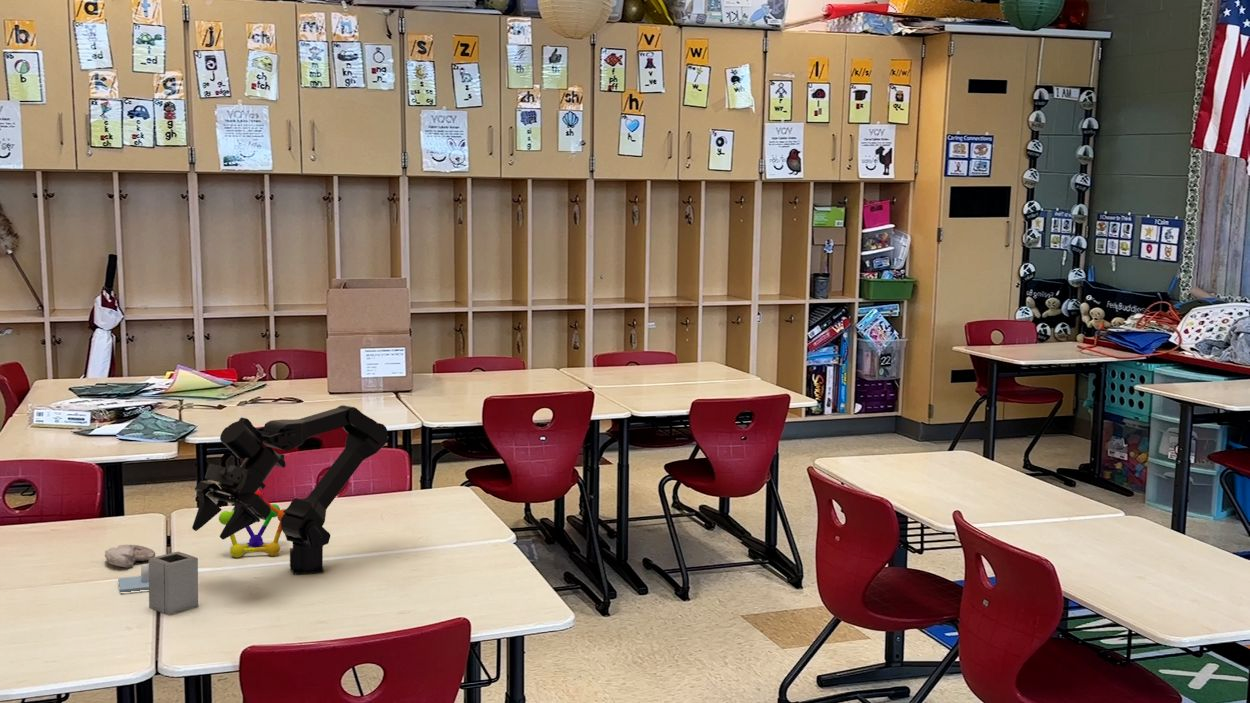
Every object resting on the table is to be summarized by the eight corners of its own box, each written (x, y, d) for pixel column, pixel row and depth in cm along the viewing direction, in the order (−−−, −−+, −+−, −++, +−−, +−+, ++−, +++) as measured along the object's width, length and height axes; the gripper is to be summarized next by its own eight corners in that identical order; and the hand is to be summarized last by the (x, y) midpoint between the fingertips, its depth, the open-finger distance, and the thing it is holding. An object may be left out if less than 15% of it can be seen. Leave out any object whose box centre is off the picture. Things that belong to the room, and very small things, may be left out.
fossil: (123, 536, 265) (164, 542, 264) (122, 554, 265) (162, 561, 264) (91, 547, 253) (133, 554, 252) (89, 566, 253) (131, 573, 252)
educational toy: (277, 545, 279) (284, 483, 278) (288, 560, 268) (295, 496, 267) (209, 545, 272) (216, 482, 271) (218, 561, 261) (224, 495, 260)
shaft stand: (169, 577, 249) (169, 557, 249) (172, 589, 242) (172, 568, 242) (118, 582, 245) (117, 562, 244) (120, 594, 238) (120, 573, 237)
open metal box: (178, 599, 236) (178, 551, 235) (198, 606, 232) (198, 557, 231) (148, 607, 231) (148, 558, 229) (168, 615, 227) (167, 565, 226)
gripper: (202, 442, 244) (154, 503, 236) (258, 455, 233) (210, 520, 225) (234, 473, 251) (189, 533, 244) (290, 487, 240) (245, 551, 233)
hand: (207, 533), depth 236 cm, fingers open, 9 cm apart
